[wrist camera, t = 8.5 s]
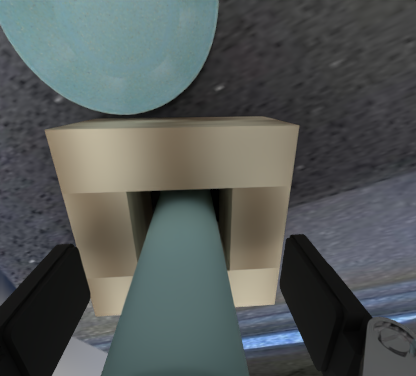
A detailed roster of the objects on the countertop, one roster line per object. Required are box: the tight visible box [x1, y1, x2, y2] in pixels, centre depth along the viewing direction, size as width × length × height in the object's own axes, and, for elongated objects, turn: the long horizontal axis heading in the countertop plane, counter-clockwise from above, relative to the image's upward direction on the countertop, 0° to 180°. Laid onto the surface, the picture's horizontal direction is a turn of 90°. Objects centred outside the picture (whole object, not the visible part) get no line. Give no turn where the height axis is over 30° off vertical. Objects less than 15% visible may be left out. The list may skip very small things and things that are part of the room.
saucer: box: [0, 0, 219, 115], centre depth 13 cm, size 12×12×2 cm
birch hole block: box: [45, 116, 299, 316], centre depth 16 cm, size 12×12×6 cm
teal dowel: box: [101, 189, 249, 376], centre depth 12 cm, size 4×4×14 cm
